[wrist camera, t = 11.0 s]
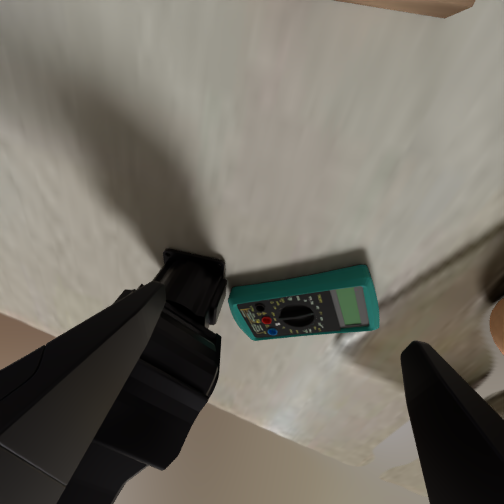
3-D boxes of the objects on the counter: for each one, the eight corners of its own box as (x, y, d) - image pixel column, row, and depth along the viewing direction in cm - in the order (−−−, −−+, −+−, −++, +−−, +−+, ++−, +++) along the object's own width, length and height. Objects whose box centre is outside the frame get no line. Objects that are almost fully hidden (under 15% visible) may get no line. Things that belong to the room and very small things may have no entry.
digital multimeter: (227, 284, 27) (220, 304, 25) (367, 259, 22) (375, 280, 20) (250, 325, 31) (246, 345, 29) (376, 311, 26) (383, 334, 24)
